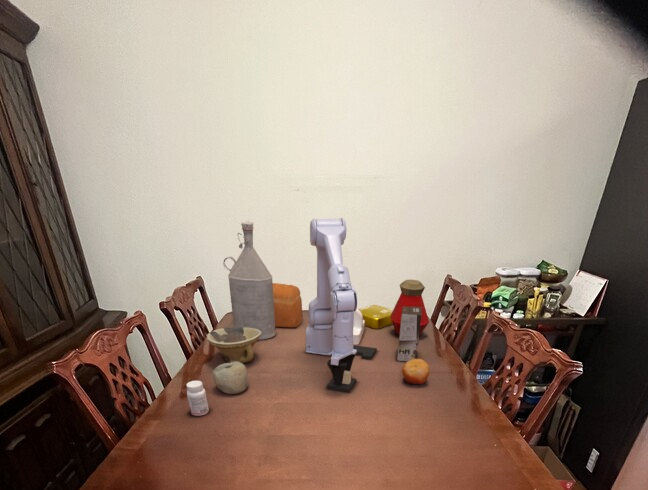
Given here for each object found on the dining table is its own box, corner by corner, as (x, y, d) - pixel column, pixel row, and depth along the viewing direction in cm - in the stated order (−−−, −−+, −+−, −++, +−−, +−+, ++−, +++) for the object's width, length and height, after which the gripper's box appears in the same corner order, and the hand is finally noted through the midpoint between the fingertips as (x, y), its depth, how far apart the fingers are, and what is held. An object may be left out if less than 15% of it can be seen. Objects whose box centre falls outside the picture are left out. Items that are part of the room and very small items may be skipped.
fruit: (430, 371, 130) (432, 355, 123) (426, 392, 127) (427, 377, 120) (405, 368, 132) (404, 352, 125) (399, 388, 129) (399, 374, 122)
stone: (258, 369, 125) (243, 356, 116) (248, 401, 124) (232, 391, 114) (229, 364, 128) (212, 351, 119) (220, 396, 127) (202, 385, 117)
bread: (296, 329, 167) (294, 289, 158) (234, 325, 171) (230, 286, 162) (304, 318, 178) (303, 280, 170) (246, 315, 182) (242, 278, 174)
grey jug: (237, 328, 168) (224, 219, 146) (279, 330, 166) (272, 219, 145) (227, 339, 157) (211, 223, 136) (272, 341, 156) (263, 224, 134)
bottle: (434, 336, 160) (442, 283, 149) (409, 344, 154) (415, 288, 143) (406, 325, 171) (411, 274, 160) (381, 332, 164) (384, 279, 154)
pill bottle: (192, 407, 114) (186, 380, 109) (210, 407, 114) (205, 379, 109) (189, 416, 110) (183, 388, 105) (207, 415, 110) (202, 387, 105)
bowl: (274, 359, 142) (272, 332, 137) (231, 375, 131) (227, 346, 126) (242, 346, 152) (239, 320, 147) (200, 360, 141) (195, 333, 136)
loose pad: (327, 388, 123) (327, 374, 121) (336, 376, 130) (337, 362, 128) (349, 392, 121) (349, 377, 119) (358, 379, 128) (358, 365, 126)
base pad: (342, 355, 144) (343, 352, 144) (349, 347, 151) (350, 344, 150) (370, 359, 141) (371, 356, 141) (376, 351, 148) (376, 348, 147)
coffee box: (415, 362, 139) (421, 314, 131) (396, 360, 140) (401, 313, 132) (416, 352, 147) (422, 306, 138) (398, 350, 148) (402, 305, 139)
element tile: (373, 313, 184) (374, 302, 182) (400, 321, 175) (401, 310, 172) (349, 321, 176) (350, 309, 173) (376, 329, 167) (377, 318, 164)
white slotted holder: (332, 342, 155) (333, 314, 149) (341, 327, 169) (341, 300, 163) (358, 344, 153) (359, 315, 147) (364, 328, 168) (365, 301, 162)
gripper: (348, 345, 109) (347, 391, 117) (363, 327, 121) (361, 370, 128) (323, 341, 111) (323, 387, 119) (340, 325, 123) (340, 367, 130)
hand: (342, 378), depth 124 cm, fingers open, 7 cm apart
